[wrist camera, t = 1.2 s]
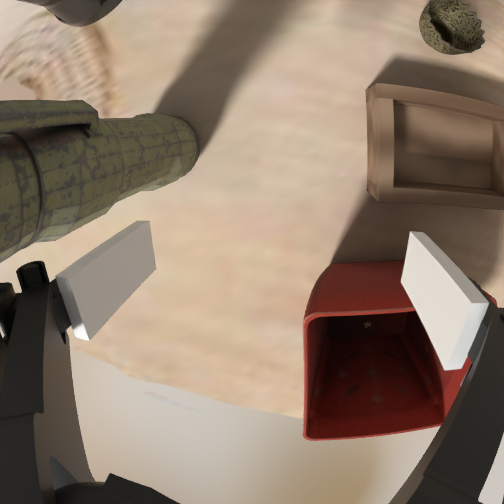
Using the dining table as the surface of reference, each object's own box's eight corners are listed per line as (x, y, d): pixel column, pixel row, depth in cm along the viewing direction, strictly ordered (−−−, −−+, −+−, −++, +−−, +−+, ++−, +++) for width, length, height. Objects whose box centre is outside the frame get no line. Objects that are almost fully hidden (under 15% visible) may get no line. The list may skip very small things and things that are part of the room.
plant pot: (439, 235, 36) (501, 298, 20) (419, 346, 43) (448, 425, 27) (303, 240, 39) (302, 314, 24) (306, 353, 46) (302, 441, 31)
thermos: (219, 126, 35) (-101, 174, 3) (174, 201, 40) (-55, 379, 8) (164, 93, 34) (-122, 94, 2) (125, 168, 39) (-113, 277, 7)
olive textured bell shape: (426, 70, 28) (453, 58, 20) (395, 21, 26) (415, -1, 18) (465, 55, 25) (495, 44, 18) (436, 8, 23) (461, -11, 16)
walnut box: (365, 90, 30) (377, 82, 25) (496, 111, 27) (521, 112, 22) (366, 190, 35) (378, 201, 30) (493, 199, 32) (516, 211, 26)
